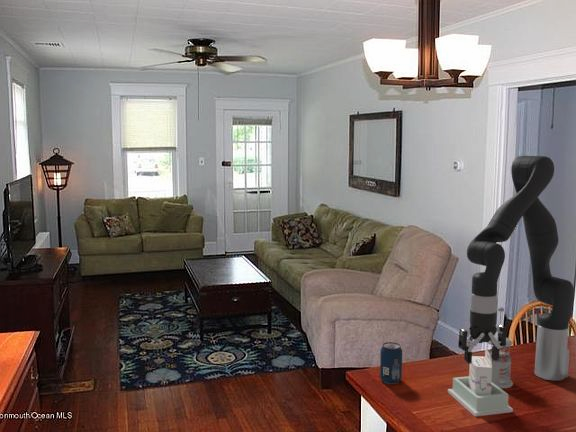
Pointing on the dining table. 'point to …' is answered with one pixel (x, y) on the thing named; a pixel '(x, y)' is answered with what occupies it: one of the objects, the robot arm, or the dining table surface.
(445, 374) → the dining table surface
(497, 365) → the french press
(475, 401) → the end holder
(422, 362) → the dining table surface
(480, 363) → the ink cartridge box
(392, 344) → the soda can
